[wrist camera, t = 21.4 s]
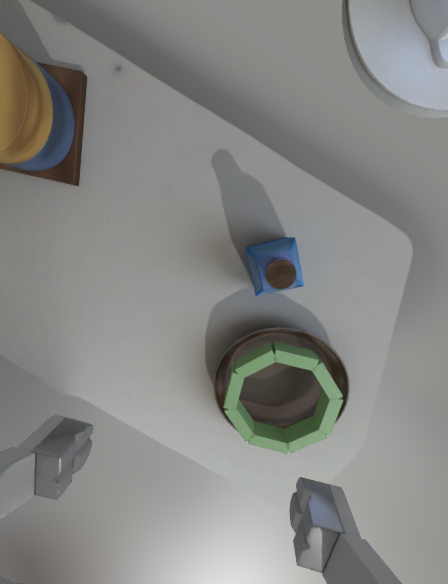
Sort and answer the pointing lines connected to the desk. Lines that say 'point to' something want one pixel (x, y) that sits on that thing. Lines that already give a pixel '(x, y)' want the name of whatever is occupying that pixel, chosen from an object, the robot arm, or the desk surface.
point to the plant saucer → (280, 379)
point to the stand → (40, 116)
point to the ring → (294, 434)
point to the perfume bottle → (274, 266)
